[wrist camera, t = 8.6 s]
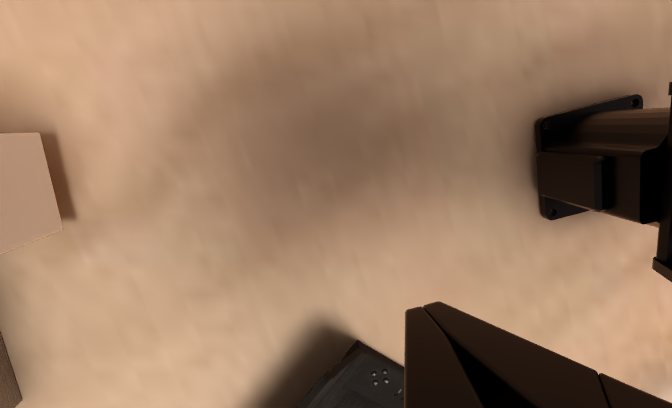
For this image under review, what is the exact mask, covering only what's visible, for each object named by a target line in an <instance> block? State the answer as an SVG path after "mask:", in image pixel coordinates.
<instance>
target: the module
mask: <svg viewBox="0 0 672 408" xmlns="http://www.w3.org/2000/svg"><path fill="white" fill-rule="evenodd" d="M61 230H63V226H62V222H61V218H60V214H59V210H58V206H57V202H56V198H55V194H54V190H53V186H52V182H51V178H50V174H49V170H48V165H47V161H46V157H45V153H44V149H43V145H42V141H41V137H40V133H0V255H1V254H4V253H6V252H9V251H11V250H14V249H16V248H19V247H21V246H24V245H26V244H29V243H31V242H34V241H36V240H39V239H41V238H44V237H46V236H49V235H51V234H54V233H56V232H59V231H61Z"/></svg>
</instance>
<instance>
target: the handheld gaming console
mask: <svg viewBox="0 0 672 408" xmlns="http://www.w3.org/2000/svg"><path fill="white" fill-rule="evenodd" d="M404 369H405V368H404V367H402V366H401V365H399V364H397V363H396V362H394V361H392V360H390V359H389V358H387V357H385V356H384V355H382V354H380V353H378V352H377V351H375V350H373V349H372V348H370V347H368V346H366V345H365V344H363V343H361V341H359V340H357V341H356V342H355V344H354V345H353V346H352V347H351V349H350V350H349V351H348V352H347V354H346V356H345V357H344V358H343V359H342V361H341V362H340V363H339V364H337V365H336V366H335V367H334V368H332V369H331V370H330V371H328V372H327V373H326V374H325V375H323V376H322V377H321V378H320V380H319V381H318V382H317V383H316V385H315V386H314V387H313V388H312V390H311V391H310V392H309V393H308V395H307V396H306V397H305V398H304V400H303V401H302V402H301V403H300V405H299V406H298V407H297V408H404Z"/></svg>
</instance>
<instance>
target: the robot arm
mask: <svg viewBox="0 0 672 408" xmlns="http://www.w3.org/2000/svg"><path fill="white" fill-rule="evenodd" d="M668 95H671V106H670V108H653V109H643V99H642V97H641V96H640V95H638V94H636V95H627V96H623V97H619V98H615V99H612V100H608V101H604V102H600V103H596V104H592V105H588V106H584V107H580V108H576V109H572V110H568V111H564V112H560V113H556V114H553V115H549V116H545V117H541V118H539V119H538V120H537V122H536V124H535V135H536V149H537V169H538V183H539V193H540V204H541V214H542V216H543V217H544V218H546V219H549V220H556V219H559V218H563V217H567V216H571V215H574V214H578V213H582V212H585V211H589V210H592V211H595V212H602V213H605V214H609V215H612V216H616V217H619V218H623V219H626V220H630V221H633V222H637V223H640V224H648V225H651V226H655V227H658V228H659V232H658V243H657V253H656V257H654V258H653V266H652V268H653V269H654V270H655V271H656V272H658V273H659V274H661V275H662V276H664V277H665V278H666V279H668V280H669V281H671V282H672V82H670V83H669V93H668ZM631 102H632V105H631ZM545 122H546V123H547V127H546V128H545V129H544V124H545ZM551 210H552V213H551V214H549V213H550V211H551ZM404 408H672V403H670V402H668V401H665V400H663V399H660V398H658V397H656V396H653V395H651V394H649V393H646V392H644V391H642V390H639V389H637V388H635V387H632V386H630V385H627V384H625V383H623V382H621V381H618V380H616V379H614V378H612V377H609V376H607V375H605V374H603V373H600V374H599V375H598V373H597V372H596V371H595V370H593V369H591V368H589V367H586V366H584V365H582V364H580V363H577V362H575V361H573V360H571V359H568V358H566V357H564V356H562V355H559V354H557V353H555V352H553V351H550V350H548V349H546V348H544V347H541V346H539V345H537V344H535V343H532V342H530V341H528V340H526V339H523V338H521V337H519V336H517V335H514V334H512V333H510V332H508V331H505V330H503V329H501V328H499V327H496V326H494V325H492V324H489V323H487V322H485V321H483V320H480V319H478V318H476V317H474V316H471V315H469V314H467V313H465V312H462V311H460V310H458V309H456V308H453V307H451V306H449V305H447V304H444V303H442V302H434V303H430V304H427V305H424V306H423V307H416V308H412V309H408V310H406V312H405V369H404Z"/></svg>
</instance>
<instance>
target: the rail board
mask: <svg viewBox="0 0 672 408" xmlns="http://www.w3.org/2000/svg"><path fill="white" fill-rule="evenodd" d="M21 401H22V398H21V395H20V392H19V389H18V386H17V383H16V380H15V377H14V373H13V370H12V367H11V364H10V361H9V358H8V355H7V352H6V349H5V346H4V343H3V340H2V336H1V333H0V408H15V407H16V406H17V405H18V404H19V403H20V402H21Z"/></svg>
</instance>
